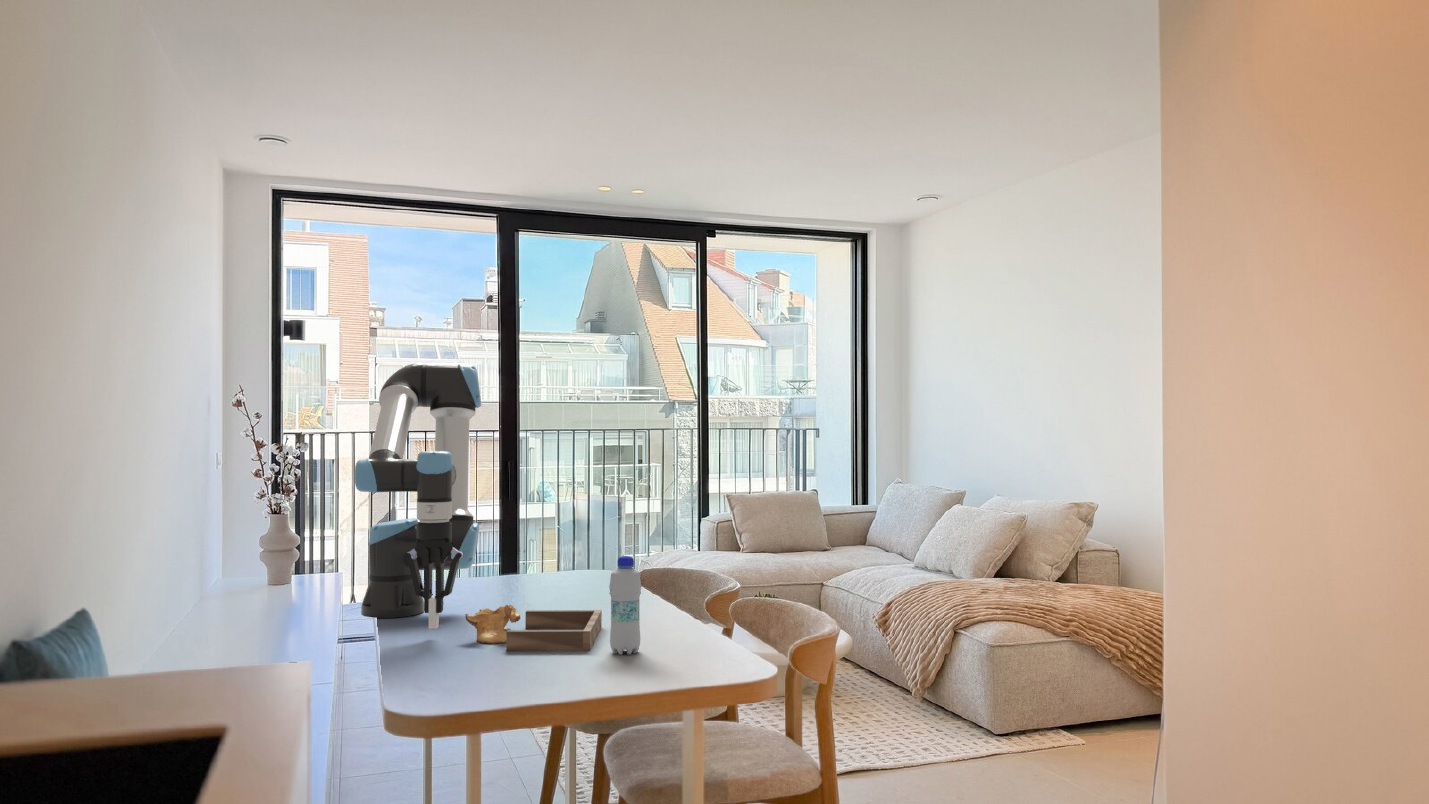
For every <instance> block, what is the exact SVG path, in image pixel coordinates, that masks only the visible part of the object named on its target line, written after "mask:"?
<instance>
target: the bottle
mask: <svg viewBox="0 0 1429 804" xmlns="http://www.w3.org/2000/svg"><path fill="white" fill-rule="evenodd" d="M634 565H635V560H634V558H633V557H632V556H630V555H623V556H620V557H618V558H617V568H616V569H614V570H613V571H611V573H610V580H609V584H608V585H609V586H608V588H609V595H610V597H611V598H610V635H609V637H610V638H609V644H610V649H611V652H612V653H613V654H616V655H617V654H618V655H621V656H622V655H623V653H624V651H626V654H627V655H631V654H636V653H638V651H639V650H640V646H641V626H640V596H641V594H642V591H641V590H642V582H641V573H640V570H637V569H636V568H634Z"/></svg>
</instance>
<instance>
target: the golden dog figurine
mask: <svg viewBox="0 0 1429 804" xmlns="http://www.w3.org/2000/svg"><path fill="white" fill-rule="evenodd" d="M465 619H466V621H467V622H468V624H470V625H471V626H473V627H475V629H476V643H477V644H481V645H499V644H505V643H506V632H507V631H508V630H512V629H511V628H505V627H506V626H507V624H508V622H510V623H511V624H514V623H515V624H516V623H517V622H519V621H520V620H521V614H519V613H518V611H517V609H516V608H515V607H514V605H512V604H505V606H504V605H502V606H500V607H498V608H497V609H495V610H492V609H489V608H482V609H479V611H478V612H476V613H474V614H473V615H470V614H468V613H466V614H465Z"/></svg>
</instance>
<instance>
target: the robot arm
mask: <svg viewBox="0 0 1429 804" xmlns="http://www.w3.org/2000/svg"><path fill="white" fill-rule="evenodd" d="M481 398H482V397H481V389H480V380H479V375H478V370H477V367H476V366H475V365H474V364H473V363H472V364H471V363H460V362H414V363H411V364H407V365H405V366H404V367H401V368H400V369H398V370H397V371H395V372H393V374H391V376H389V377H388V379H387V380H386V381H385V382H384V384H383V385H382V387H381V389H380V393H379V397H378V404H379V406H380V411H379V414H378V419H377V423H376V427H375V431H374V435H373V439H372V443H371V446H370V447H371V448H370V450H369V455H368V458H365V459H359V460H357V462H356V464H355V465H354V466H355V467H354V485H355V488H356V490H357V491H359V492H360V493H361V492H363V493H374V494H375V493H398V492H403V493H405V492H406V493H407V492H410V493H411V492H414V493H415V492H416V496H417V497H416V518H414V517H412V518H403V519H402V518H401V519H395V520H389V521H384V522H380V523H376V524H374V525H373V526H371V528H370V530H369V540H368V554H369V555H368V556H369V557H368V585H367V588H366V590H365V595H364V597H363V600H362V603H361V607H360V608H361V609H360V612H361V613H360V614H361V616H363V617H367V618H377V619H378V618H379V619H382V618H383V619H384V618H385V619H389V618H404V617H411V616H414V615H415V616H416V615H419V614H421V613H424V614H428V630H436V629H437V628H439V627H440V625H439V623H440V622H439V620H440V619H439V618H440V617H439V614H441V613H443V611H444V598H445V597H448V596H450V595H451V594H452V593H453V589H454V586H455V585H454V584H455V580H456V577H457V574H458V573H457V572H458V570H467V569H469V568H471V567H472V566H473V565H474V563H475V560H476V554H477V551H478V550H477V549H478V543H479V542H478V541H479V532H480V525H479V523H478V522H474V514H472V513H471V512H470V511H469V510H468V508H469V506H468V505H469V504H468V503H469V462H470V461H469V459H470V458H469V456H470V454H469V452H470V420H471V419H472V418H473V417H474V416H475V415H476V409H478V408H480V407H482V399H481ZM420 407H421V408H422V407H423V408H429V413H430V415H431V416H432V417H433V418H434V419H435V434H434V436H435V438H434V439H435V440H434V451H433V450H430V451H420V452H419V453H418V454H417V458H415V459H414V458H408V459H407V458H404V455H405V451H406V450H405V448H406V444H407V439H408V435H409V428H410V424H411V420H412V419H411V418H412V413H414V412H415V411H416V409H417V408H420ZM445 570H448V574H447V578H446V582H445ZM420 571H423V581H422V576H421V572H420ZM433 571H435V591H434V592H435V593H433ZM434 594H435V596H434Z"/></svg>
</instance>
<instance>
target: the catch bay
mask: <svg viewBox="0 0 1429 804" xmlns="http://www.w3.org/2000/svg"><path fill="white" fill-rule="evenodd" d="M602 615H603V613H602V609H560V610H559V609H546V610H543V609H537V610H536V609H532V610H531V609H530V610H529V609H527V610H525V617H524V618H525V620H524V623H525V629H511V630H508V631H507V632H506V642H505V643H506V647H505V648H506V649H505V650H506V652H525V651H527V652H528V651H529V652H533V651H534V652H536V651H537V652H539V651H540V652H543V651H544V652H545V651H546V652H549V651H557V652H558V651H559V652H560V651H566V652H567V651H570V652H571V651H573V652H574V651H577V652H578V651H584V652H585V651H591V650H592V647H593V645H594V643H595V641H596V640H597V638H598V635H599V633H600V631H601V629H602V628H603V627H602V626H603V625H602V621H603V619H602Z"/></svg>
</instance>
